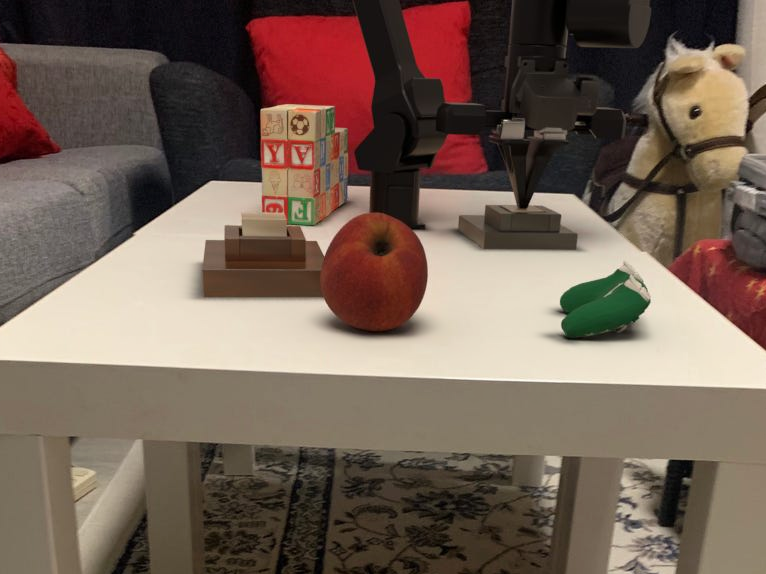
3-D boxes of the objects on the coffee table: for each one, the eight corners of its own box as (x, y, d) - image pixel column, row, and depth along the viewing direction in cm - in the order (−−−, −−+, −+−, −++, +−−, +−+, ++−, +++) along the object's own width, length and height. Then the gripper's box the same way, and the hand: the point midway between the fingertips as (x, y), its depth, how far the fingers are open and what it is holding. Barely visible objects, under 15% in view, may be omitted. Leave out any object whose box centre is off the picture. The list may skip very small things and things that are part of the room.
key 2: (500, 222, 102) (501, 205, 101) (532, 222, 102) (533, 205, 101) (509, 227, 98) (510, 210, 98) (542, 228, 99) (544, 210, 98)
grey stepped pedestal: (457, 230, 107) (459, 198, 106) (541, 231, 109) (544, 199, 107) (483, 249, 97) (486, 214, 95) (576, 250, 98) (580, 215, 97)
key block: (206, 264, 85) (204, 219, 83) (316, 265, 86) (317, 220, 85) (203, 297, 73) (201, 245, 71) (330, 297, 75) (331, 246, 73)
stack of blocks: (302, 199, 127) (302, 100, 121) (348, 201, 126) (350, 102, 121) (261, 222, 107) (259, 107, 102) (314, 225, 107) (315, 109, 101)
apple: (314, 340, 63) (314, 218, 60) (326, 312, 70) (327, 202, 67) (424, 345, 63) (430, 223, 59) (425, 317, 70) (431, 206, 66)
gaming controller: (590, 367, 66) (662, 312, 63) (556, 326, 65) (628, 269, 63) (585, 334, 74) (649, 284, 72) (555, 297, 73) (618, 246, 71)
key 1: (241, 233, 80) (241, 212, 79) (284, 233, 80) (284, 212, 79) (242, 240, 76) (242, 218, 76) (286, 241, 77) (286, 219, 76)
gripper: (464, 40, 84) (453, 218, 91) (659, 49, 87) (635, 221, 94) (439, 42, 94) (430, 202, 101) (614, 50, 97) (595, 205, 104)
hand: (522, 208), depth 99 cm, fingers closed, pressing on key 2
